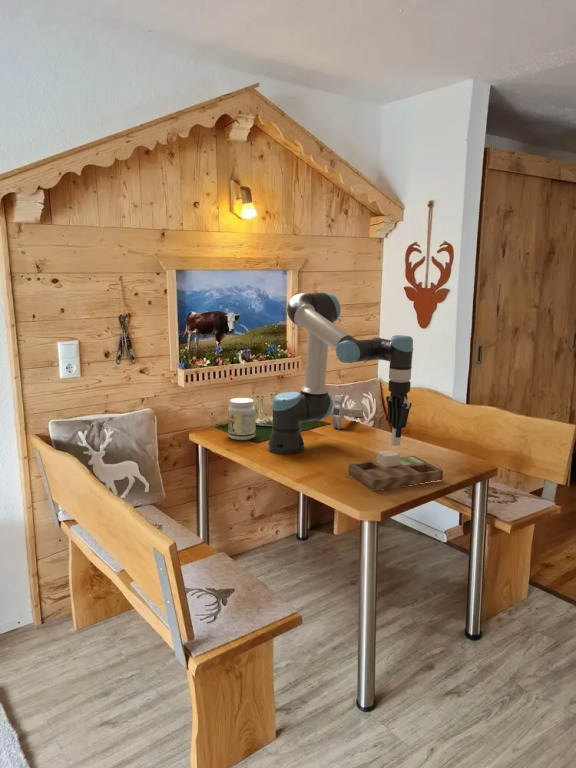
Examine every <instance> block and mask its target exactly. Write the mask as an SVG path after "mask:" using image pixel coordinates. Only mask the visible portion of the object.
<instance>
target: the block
mask: <svg viewBox="0 0 576 768" xmlns="http://www.w3.org/2000/svg"><path fill="white" fill-rule="evenodd" d="M400 458H401V455H400V454H399V453H397V452H396V451H394V450H391V449H388V450H381V451H380V450H379V451H376V461H377V463H379V464H381V465H382V466H384V467H390V466H398V465H400Z"/></svg>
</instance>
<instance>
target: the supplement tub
mask: <svg viewBox="0 0 576 768" xmlns="http://www.w3.org/2000/svg"><path fill="white" fill-rule="evenodd" d="M227 418H228V419H227V420H228V421H227V422H228V423H227V426H228V432H227V433H228V435H227V436H228V437H229V438H231V439H233V440H238V441H247V440H251V439H253V438H255V437H256V407H255V405H254V399H252V398H250V397H249V398H248V397H236V398H235V397H234V398H231V399H230V401H229V406H228V409H227Z"/></svg>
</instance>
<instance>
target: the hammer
mask: <svg viewBox="0 0 576 768" xmlns="http://www.w3.org/2000/svg"><path fill="white" fill-rule="evenodd" d="M333 401H334V403H335V405H334V406H333V408H332V416H331V417H332V418H331V419H332V420H331V422H332V423H331V424H332V426H333V428H334V429H339V430H343V424H342V423H343V422H342V418H343V417H344V416H345V417H349V418H358V419H359V418H362V417H363V415H364V409H362V408H360V407H359V408H349V407H347V408H345V407H343V404H344V402H345V395H337V394H335V396H334V400H333Z"/></svg>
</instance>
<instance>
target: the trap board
mask: <svg viewBox="0 0 576 768" xmlns="http://www.w3.org/2000/svg"><path fill="white" fill-rule="evenodd" d="M348 475H349V477H351V476H352V477H351V478H353V479H354V480H356V481H357V482H359V483H360V484H362V485H363V486H364V487H366V488H367V487H368V489H369V488H370V489H371V491H372V490H373V491H374V492H377V491H376V490H381V491H383V490H382V489H388V488H394V489H397V488H396V487H401V488H404V487H403V486H408V487H410V486H409V485H415V484H420V483H425V482H431V481H437V480H442V479H443V477H444V470H443V469H441V468H439V467H437V466H435V465H433V464H431V463H429V462H427V461H425V460H423V459H421V458H419V457H417V456H415V455H409V456H402V457H401V456H400V465H398V466H390V467H384V466H382V465H381V464H379V463H377V460H370V461H362V462H356V463H355V462H354V463H348ZM415 486H416V485H415ZM370 489H369V490H370ZM388 490H389V489H388ZM373 491H372V492H373Z"/></svg>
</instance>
